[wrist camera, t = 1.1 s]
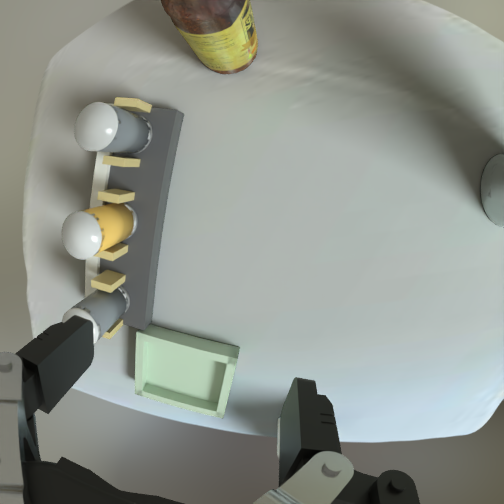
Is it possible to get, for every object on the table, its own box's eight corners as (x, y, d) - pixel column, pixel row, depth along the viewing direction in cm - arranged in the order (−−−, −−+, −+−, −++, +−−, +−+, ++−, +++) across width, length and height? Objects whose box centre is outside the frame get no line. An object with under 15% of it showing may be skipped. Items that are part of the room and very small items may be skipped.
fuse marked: (140, 205, 31) (100, 216, 23) (135, 242, 32) (97, 264, 24) (107, 198, 31) (63, 208, 23) (103, 235, 32) (60, 253, 24)
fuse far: (131, 286, 33) (95, 317, 25) (129, 318, 34) (96, 353, 26) (100, 277, 33) (61, 304, 25) (99, 308, 34) (63, 340, 26)
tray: (239, 347, 37) (237, 358, 34) (225, 406, 39) (223, 418, 37) (144, 322, 37) (136, 331, 34) (141, 383, 39) (134, 393, 37)
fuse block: (184, 112, 30) (165, 101, 25) (151, 322, 37) (132, 347, 31) (119, 106, 31) (91, 96, 25) (95, 305, 37) (71, 325, 31)
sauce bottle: (268, 62, 29) (258, -57, 9) (213, 86, 30) (137, -8, 10) (243, 16, 27) (210, -109, 8) (190, 39, 28) (110, -66, 9)
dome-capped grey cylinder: (156, 117, 28) (119, 103, 21) (148, 156, 29) (109, 153, 22) (122, 114, 28) (79, 101, 21) (114, 151, 29) (70, 148, 22)
